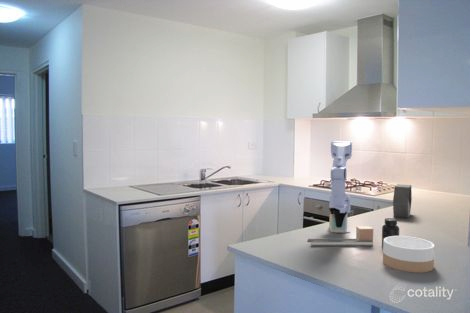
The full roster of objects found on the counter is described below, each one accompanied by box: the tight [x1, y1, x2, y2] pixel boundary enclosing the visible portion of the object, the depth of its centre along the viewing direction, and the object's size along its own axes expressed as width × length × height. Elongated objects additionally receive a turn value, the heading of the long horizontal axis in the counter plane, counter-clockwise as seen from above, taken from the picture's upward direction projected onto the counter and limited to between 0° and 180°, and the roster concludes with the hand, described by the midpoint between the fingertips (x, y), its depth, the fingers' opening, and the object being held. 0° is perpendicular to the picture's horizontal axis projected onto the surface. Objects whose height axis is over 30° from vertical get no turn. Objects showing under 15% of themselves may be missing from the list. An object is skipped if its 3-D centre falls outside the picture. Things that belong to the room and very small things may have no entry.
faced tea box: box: [355, 225, 374, 242], centre depth 165 cm, size 4×6×7 cm
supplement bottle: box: [381, 217, 400, 248], centre depth 159 cm, size 7×7×12 cm
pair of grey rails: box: [307, 238, 374, 247], centre depth 165 cm, size 8×26×2 cm, turn 91°
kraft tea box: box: [328, 213, 346, 233], centre depth 164 cm, size 4×6×7 cm
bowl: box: [382, 235, 436, 273], centre depth 140 cm, size 17×17×8 cm
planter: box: [392, 184, 413, 219], centre depth 218 cm, size 17×8×21 cm
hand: (337, 225), depth 164 cm, fingers closed on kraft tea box, 4 cm apart
